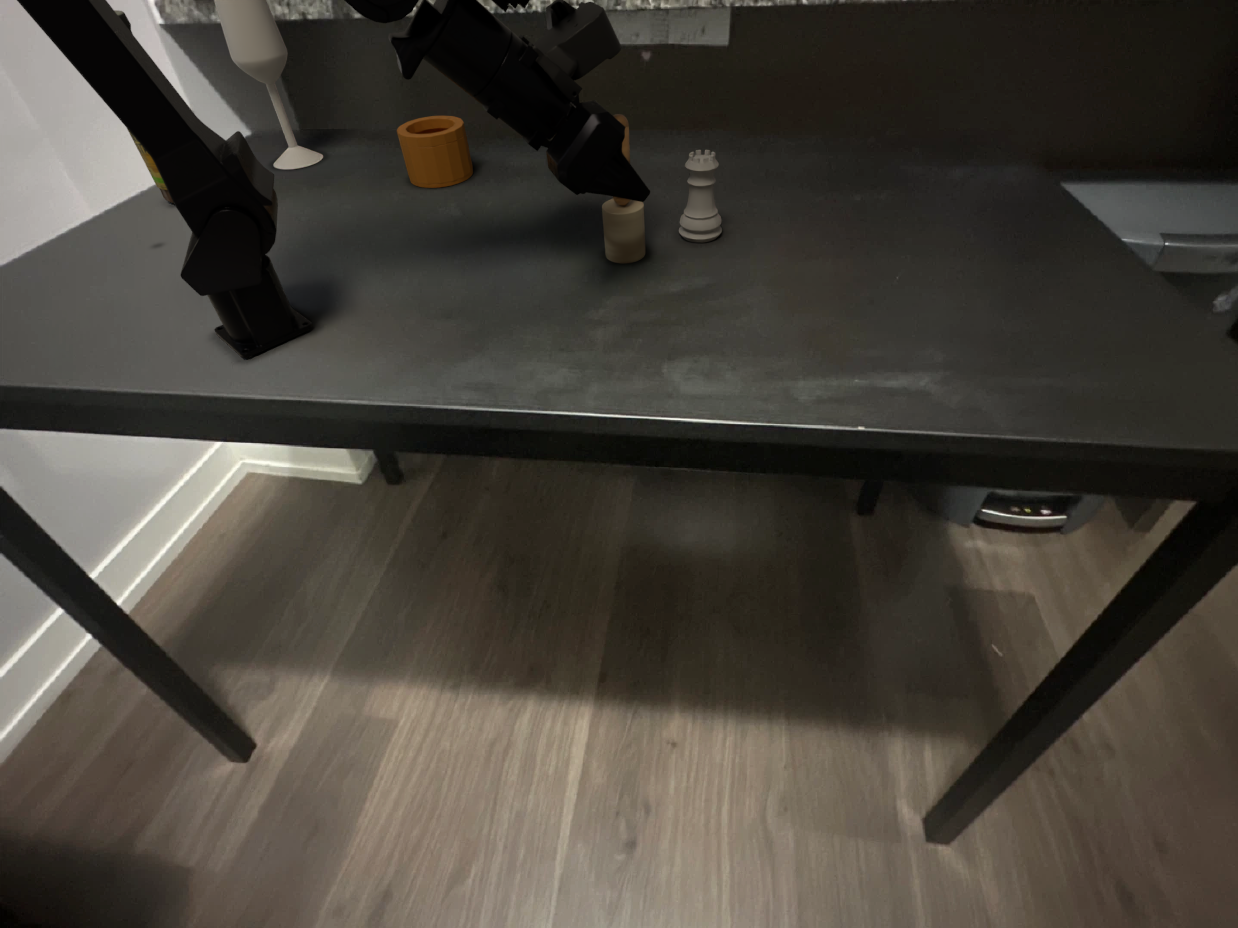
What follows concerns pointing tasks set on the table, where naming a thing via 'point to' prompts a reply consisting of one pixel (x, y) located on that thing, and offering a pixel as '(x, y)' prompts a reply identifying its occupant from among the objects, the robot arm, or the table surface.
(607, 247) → the brush
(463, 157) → the orange cylindrical pot
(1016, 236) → the table surface
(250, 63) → the champagne flute
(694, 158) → the rook chess piece
